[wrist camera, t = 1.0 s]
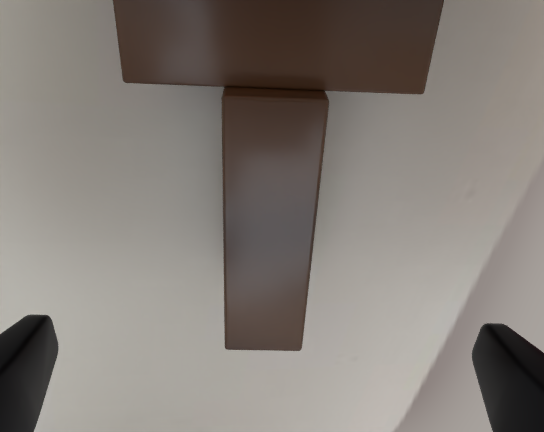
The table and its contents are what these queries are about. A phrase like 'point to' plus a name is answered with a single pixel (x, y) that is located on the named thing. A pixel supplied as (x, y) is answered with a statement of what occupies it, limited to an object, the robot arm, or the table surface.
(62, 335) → the table surface
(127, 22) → the brown t-shaped slab
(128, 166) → the table surface
